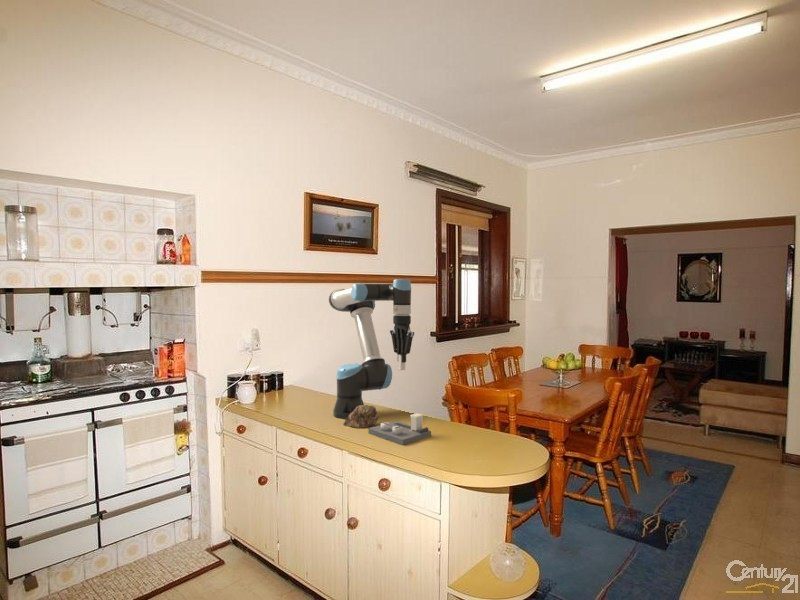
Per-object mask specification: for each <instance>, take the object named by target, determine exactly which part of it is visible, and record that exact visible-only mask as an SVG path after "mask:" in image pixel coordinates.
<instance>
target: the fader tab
mask: <svg viewBox="0 0 800 600" xmlns="http://www.w3.org/2000/svg"><path fill="white" fill-rule="evenodd" d="M409 417H410V425H411V429H412V430H415V431H418V430H419V429H423V418H424V414H422V413H418V412H416V413H413V414H410V416H409Z"/></svg>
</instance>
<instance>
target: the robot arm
mask: <svg viewBox="0 0 800 600" xmlns="http://www.w3.org/2000/svg"><path fill="white" fill-rule="evenodd" d="M411 283H412V282H411V280H410V279H409V278H395V279H393V282H392V283H362V282H361V283H360V282H359V283H354V284H353V285H352V286H351V287H350V288H340V289H338V288H337V289H335V290H333V291H332V292H331V293H330V294H329V296H328V302H329V305H330V307H331V308H332V309H334V310H335V311H337V312H345V313H346V312H347V313H349V314H350V317H351V318H353V319H354V322H355V328H356V331H357V336H358V340H359V346H360V350H361V354H362V355H361V356H362V360H363V361H362V363H356V362H355V363H352V362H351V363H347V364H343V365H340V366H339V367H338V368H337V370H336V401H335V404H334V406H333V410H332V416H333V417H335V418H338V419H343V420H344V419H345V420H346V419H347V417H348V416H349V415H350V414H351V413H352V412H353V411H354V409H356V407H357V406H359V405H365V402H364V400H363V396H362V394H363V392H366V391H376V390H380V391H381V390H384V389H387V388H389V387H390V385H391V383H392V380H393V370H392V367H391V365H390V364H388V363H386V361H385V359H384V358H383V357H381V353H380V349H379V344H378V340H377V335H376V331H375V326H374V323H373V318H372V314H373V312H374V310H375V307H376V301H378V302H379V301H380V302H381V301H382V302H383V301H387V302H389V301H393V303H392V304H393V310H392V311H393V312H392V313H393V317H392V321H393V325H394V326H393V329H390V331H389V333H390V336H391V340H392V341H391V342H392V346H393V347H392V348H393V352H394V353H396V354H397V364H398V366H397V367H398V368H397V369H398V371H405V370H406V363H407V355H408V354H411V350H412V349H411V348H412V343H413V339H414V336H415V332H414V331H412V330H411V326H410V324H411V322H412V320H411V319H412V316H411V314H412V308H411V307H412V305H411V304H412V303H411V302H412V287H411V286H412V285H411Z"/></svg>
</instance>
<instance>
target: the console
mask: <svg viewBox="0 0 800 600" xmlns="http://www.w3.org/2000/svg"><path fill="white" fill-rule="evenodd" d="M367 428H368V431H367V433H368V434H369V435H372V436H375V437H378V438H380V439H384V440H386V441H389V442H393V443H395V444H398V445H402V446H404V445H407V444H411V443H413V442H416V441H420V440H423V439H426V438H430V437H432V431H431V430H429V427H428V426H427V427H422V429H419V430H418V431H415V430H412V429H411V424H408V423H405V422H401V421H398V420H395V421H391V422H384V421H383V422H381V423H380V425H377V426H376V425H375V426H371V427H367Z"/></svg>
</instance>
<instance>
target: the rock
mask: <svg viewBox="0 0 800 600" xmlns="http://www.w3.org/2000/svg"><path fill="white" fill-rule="evenodd" d="M378 419H379V414H378V412H377V408H376V406H373V405H369V404H364V405H359V406H357V407H356V409H354V411H353V412H352V413H351V414H350V415H349V416H348V417H347V419H345V421H344V422H343V426H344V427H349V428H355V429H367V428H371V427H375V426H376V425H377V423H378Z"/></svg>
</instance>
